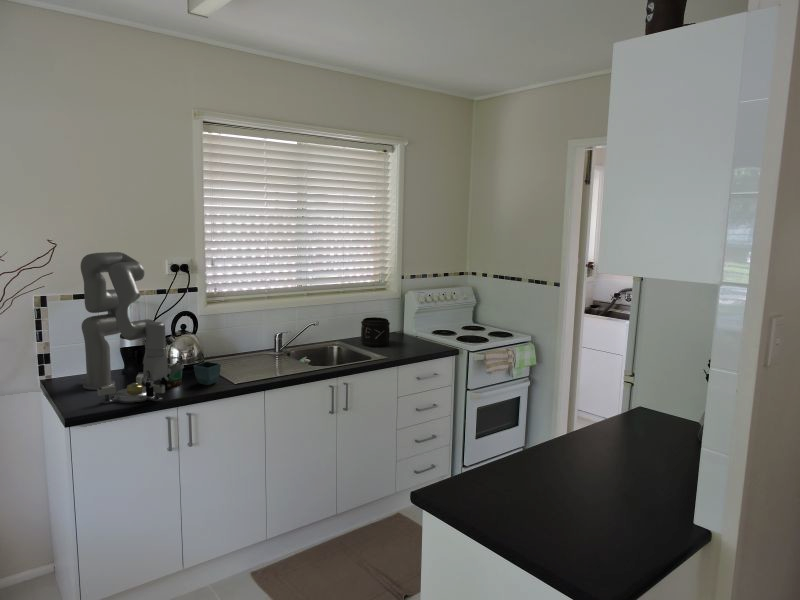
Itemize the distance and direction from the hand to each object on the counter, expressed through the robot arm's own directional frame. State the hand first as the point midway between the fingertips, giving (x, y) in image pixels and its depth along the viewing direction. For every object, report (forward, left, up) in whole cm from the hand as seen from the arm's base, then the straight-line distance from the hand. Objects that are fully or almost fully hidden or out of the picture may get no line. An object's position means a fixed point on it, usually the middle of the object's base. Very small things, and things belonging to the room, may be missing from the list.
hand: (157, 393), depth 238 cm
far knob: (0, 0, -2) cm, 2 cm away
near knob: (-16, -10, -2) cm, 19 cm away
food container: (-6, +20, -3) cm, 21 cm away
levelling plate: (-8, 0, -3) cm, 9 cm away
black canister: (+50, +136, -3) cm, 145 cm away
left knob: (-17, +9, -2) cm, 19 cm away
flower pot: (+5, +28, -3) cm, 29 cm away
